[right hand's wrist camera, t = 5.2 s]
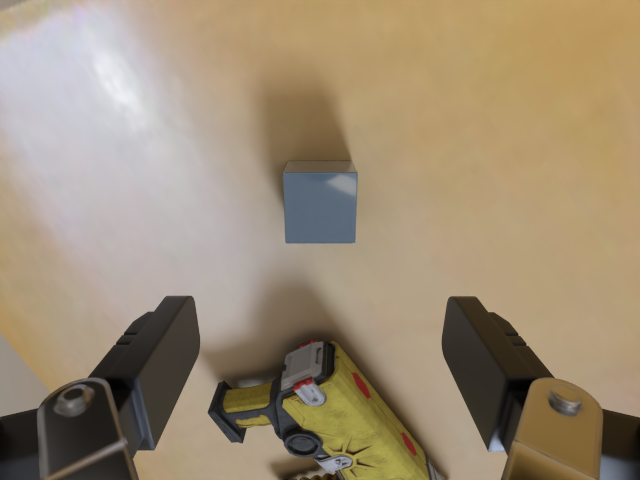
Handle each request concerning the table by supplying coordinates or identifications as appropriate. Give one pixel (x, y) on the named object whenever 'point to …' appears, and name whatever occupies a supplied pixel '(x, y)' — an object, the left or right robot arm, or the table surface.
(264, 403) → the toy gun
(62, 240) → the table surface
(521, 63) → the table surface
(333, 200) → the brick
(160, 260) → the table surface
